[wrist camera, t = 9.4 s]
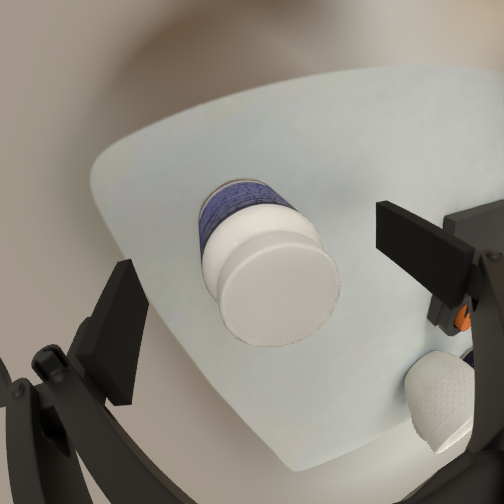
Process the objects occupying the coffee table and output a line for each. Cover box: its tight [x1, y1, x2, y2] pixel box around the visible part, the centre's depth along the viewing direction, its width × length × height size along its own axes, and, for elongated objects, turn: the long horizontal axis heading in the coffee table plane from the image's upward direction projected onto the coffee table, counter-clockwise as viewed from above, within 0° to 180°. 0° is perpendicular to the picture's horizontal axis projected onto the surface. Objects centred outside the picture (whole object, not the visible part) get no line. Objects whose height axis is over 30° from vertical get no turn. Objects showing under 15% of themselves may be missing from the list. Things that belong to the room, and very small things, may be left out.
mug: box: [404, 351, 475, 454], centre depth 28 cm, size 15×11×13 cm
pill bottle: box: [199, 178, 340, 347], centre depth 15 cm, size 6×6×10 cm
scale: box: [427, 199, 504, 336], centre depth 25 cm, size 17×14×4 cm
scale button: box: [454, 305, 471, 332], centre depth 24 cm, size 3×3×2 cm
